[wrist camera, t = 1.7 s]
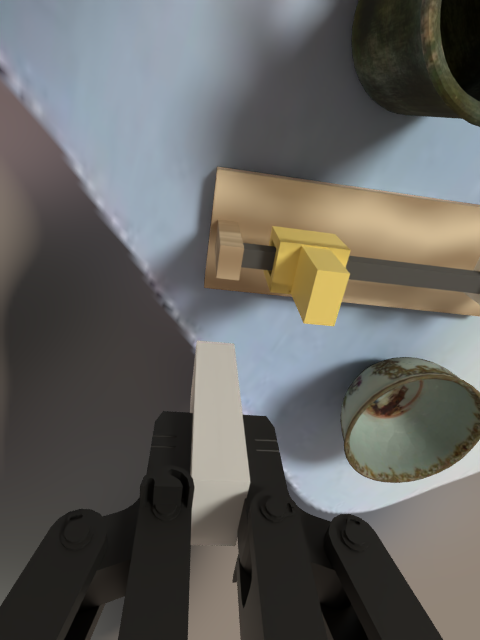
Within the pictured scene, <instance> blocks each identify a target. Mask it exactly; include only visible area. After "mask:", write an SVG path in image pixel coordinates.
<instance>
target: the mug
mask: <svg viewBox="0 0 480 640" xmlns="http://www.w3.org/2000/svg"><path fill="white" fill-rule="evenodd" d="M352 54H353V60H354V65H355V69H356V72H357V75H358V77H359V80H360V82H361V84H362V86H363V87H364V89H365V91H366V92H367V93H368V95H369V96H370V97H371V98H372V99H373V100H374V101H375V102H376V103H377V104H378V105H380V106H381V107H383V108H385V109H387V110H388V111H391V112H394V113H397V114H404V115H415V116H430V117H445V118H461V119H464V120H466V121H467V122H469V123H471V124H473V125H476V126H479V127H480V0H359V2H358V5H357V8H356V11H355V16H354V22H353V27H352Z"/></svg>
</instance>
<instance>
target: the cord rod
mask: <svg viewBox="0 0 480 640" xmlns="http://www.w3.org/2000/svg"><path fill="white" fill-rule="evenodd" d="M243 245H244V252H243V258H242V265H241V267H243V268H252V269H261V270H270V271H272V269H273V264H274V259H275V254H276V247H274V246H266V245H258V244H249V243H243ZM346 269H347V271H348V272H349V273H350V276H349V279H350V280H359V281H368V282H377V283H386V284H395V285H404V286H413V287H422V288H430V289H439V290H448V291H457V292H466V293H475V294H480V271H473V270H465V269H456V268H448V267H440V266H431V265H423V264H415V263H407V262H398V261H390V260H382V259H374V258H365V257H357V256H349V258H348V261H347V265H346Z"/></svg>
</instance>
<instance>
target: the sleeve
mask: <svg viewBox="0 0 480 640" xmlns="http://www.w3.org/2000/svg"><path fill="white" fill-rule="evenodd" d="M269 246H274V247H276V254H275V259H274V264H273V269H272V271H270V270H264V275H265V278H266V281H267V284H268V287H269V290H270V292H272V293H282V294H291V295H292V297H293V300H294V302H295V304H296V307H297V309H298V311H299V313H300V316H301V318H302V320H303V323H306V324H316V325H327V326H334V325H335V322H336V319H337V315H338V312H339V309H340V305H341V302H342V299H343V296H344V292H345V289H346V286H347V283H348V279H349V276H350V273H349V272H348V271H347V269H346V265H347V261H348V258H349V254H350V251H351V250H350V249H349V248H348V247H347V246H346V245H345V244H344V243H343V242H342V241H341V240H340V239H339V238H338V237H337V236H336V235H335V234H331V233H323V232H316V231H308V230H300V229H292V228H284V227H276V226H272V231H271V236H270V241H269Z"/></svg>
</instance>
